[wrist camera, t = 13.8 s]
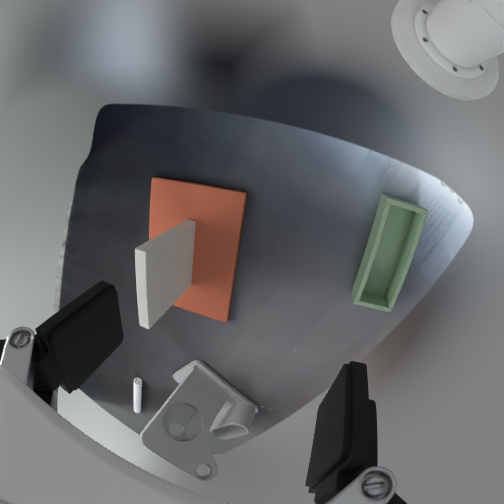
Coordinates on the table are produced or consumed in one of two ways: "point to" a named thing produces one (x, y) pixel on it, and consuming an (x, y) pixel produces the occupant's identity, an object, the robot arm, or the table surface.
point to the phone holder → (198, 419)
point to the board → (164, 271)
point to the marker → (137, 394)
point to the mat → (202, 239)
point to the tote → (388, 252)
